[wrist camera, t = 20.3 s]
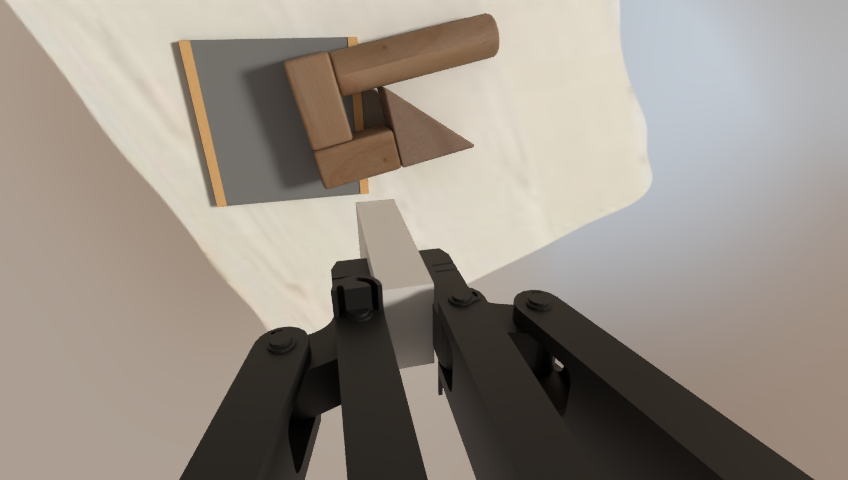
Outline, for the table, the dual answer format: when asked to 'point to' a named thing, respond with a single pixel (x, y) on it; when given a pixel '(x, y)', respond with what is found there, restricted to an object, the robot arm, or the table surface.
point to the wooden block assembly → (383, 98)
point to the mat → (259, 119)
